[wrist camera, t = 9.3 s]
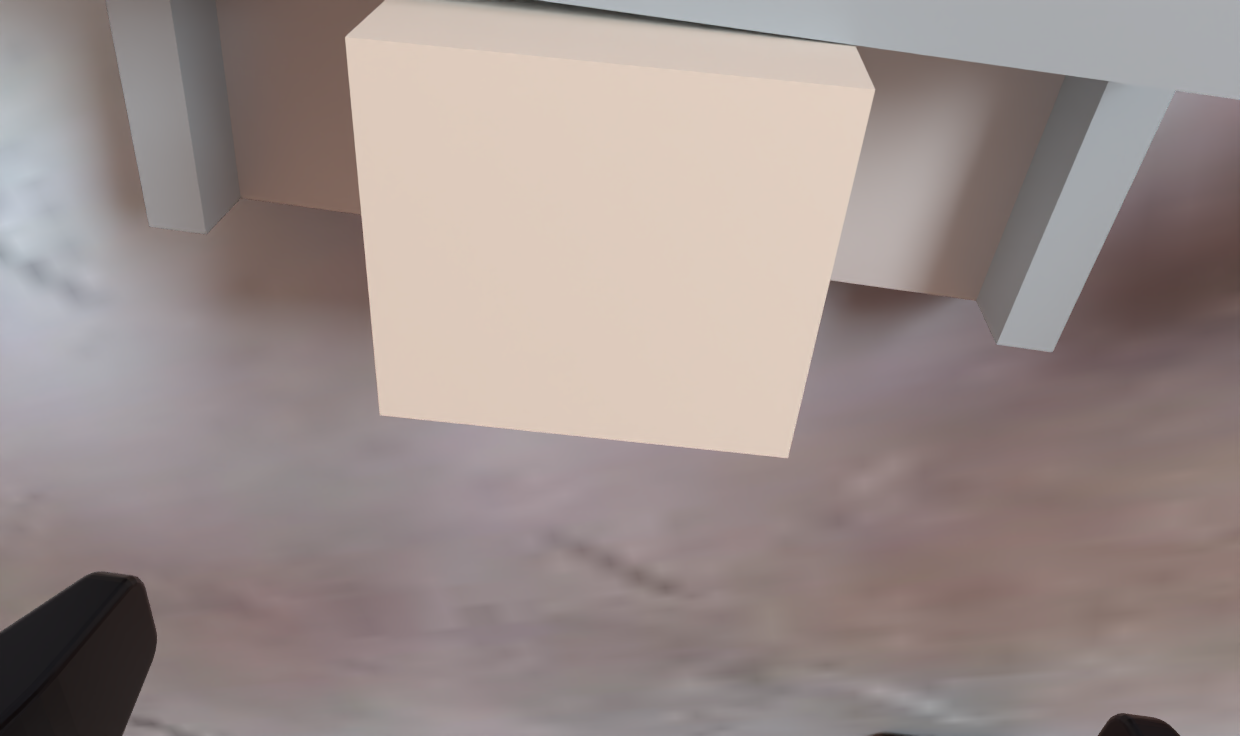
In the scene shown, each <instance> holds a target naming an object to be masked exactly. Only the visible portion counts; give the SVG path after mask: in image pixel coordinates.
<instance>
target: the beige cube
mask: <svg viewBox="0 0 1240 736" xmlns="http://www.w3.org/2000/svg"><path fill="white" fill-rule="evenodd" d="M345 43H346V54H347V65H348V76H349V86H350V97H351V108H352V119H353V130H354V141H355V151H356V162H357V173H358V184H359V195H360V206H361V216H362V227H363V238H364V249H365V260H366V271H367V281H368V292H369V303H370V314H371V325H372V336H373V346H374V357H375V368H376V379H377V390H378V401H379V411H380V415H382V416H392V417H401V418H411V419H420V420H430V421H439V422H449V423H458V424H468V425H477V426H487V427H496V428H506V429H516V430H525V431H535V432H544V433H554V434H563V435H573V436H582V437H592V438H601V439H611V440H620V441H630V442H639V443H649V444H658V445H668V446H678V447H687V448H697V449H706V450H716V451H725V452H735V453H744V454H754V455H763V456H773V457H782V458H788V455H789V451H790V447H791V443H792V439H793V434H794V430H795V426H796V422H797V418H798V413H799V409H800V405H801V401H802V396H803V392H804V388H805V384H806V380H807V375H808V371H809V367H810V363H811V359H812V354H813V350H814V346H815V342H816V338H817V333H818V329H819V325H820V321H821V316H822V312H823V308H824V304H825V300H826V295H827V291H828V287H829V283H830V279H831V274H832V270H833V266H834V262H835V257H836V253H837V249H838V245H839V241H840V236H841V232H842V228H843V224H844V220H845V215H846V211H847V207H848V203H849V198H850V194H851V190H852V186H853V182H854V177H855V173H856V169H857V165H858V161H859V156H860V152H861V148H862V144H863V139H864V135H865V131H866V127H867V123H868V118H869V114H870V110H871V106H872V102H873V97H874V93H875V88H874V86H873V83H872V81H871V79H870V77H869V75H868V72H867V70H866V68H865V66H864V64H863V61H862V59H861V57H860V55H859V53H858V50H857V48H856V46H855V45H850V44H843V43H836V42H829V41H822V40H815V39H808V38H801V37H794V36H787V35H780V34H773V33H766V32H759V31H752V30H745V29H738V28H731V27H724V26H716V25H709V24H702V23H695V22H688V21H681V20H674V19H667V18H660V17H653V16H646V15H639V14H632V13H625V12H618V11H611V10H604V9H597V8H590V7H583V6H576V5H569V4H562V3H555V2H548V1H540V0H385V1H384V2H383V3H381V4H380V5H379V6H378V7H377V8H376V9H375V10H374V11H373V12H372V13H371V14H369V15H368V16H367V17H366V18H365V19H364V20H363V21H362V22H361V23H360V24H359V25H357V26H356V27H355V28H354V29H353V30H352V31H351V32H350V33H349V34H348V35H347V36H346V37H345Z"/></svg>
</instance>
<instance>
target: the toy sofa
mask: <svg viewBox="0 0 1240 736" xmlns="http://www.w3.org/2000/svg"><path fill="white" fill-rule="evenodd" d="M105 1H106V6H107V11H108V16H109V22H110V27H111V32H112V37H113V42H114V47H115V53H116V58H117V63H118V68H119V73H120V78H121V84H122V89H123V94H124V99H125V104H126V109H127V114H128V120H129V125H130V130H131V135H132V140H133V145H134V151H135V156H136V161H137V166H138V171H139V176H140V182H141V187H142V192H143V197H144V202H145V207H146V213H147V218H148V223H149V227H155V228H162V229H169V230H177V231H184V232H191V233H198V234H205V235H206V234H207V233H208V232H209V231H210V230H211V229H212V228H213V227H214V226H215V225H216V224H217V223H218V222H219V221H220V219H221V218H222V217H223V216H224V215H225V214H226V213H227V212H228V211H229V210H230V209H231V208H232V207H233V206H234V205H235V204H236V202H237V201H238V200H239V199H240V198H244V199H251V200H258V201H265V202H273V203H280V204H287V205H294V206H301V207H308V208H316V209H323V210H330V211H337V212H344V213H351V214H359V215H361V206H360V195H359V184H358V173H357V162H356V151H355V141H354V130H353V119H352V108H351V97H350V86H349V76H348V65H347V54H346V43H345V37H346V36H347V35H348V34H349V33H350V32H351V31H352V30H353V29H354V28H355V27H356V26H357V25H359V24H360V23H361V22H362V21H363V20H364V19H365V18H366V17H367V16H368V15H369V14H371V13H372V12H373V11H374V10H375V9H376V8H377V7H378V6H379V5H380V4H381V3H383V2H384V1H385V0H105ZM540 1H548V2H555V3H562V4H569V5H576V6H583V7H590V8H597V9H604V10H611V11H618V12H625V13H632V14H639V15H646V16H653V17H660V18H667V19H674V20H681V21H688V22H695V23H702V24H709V25H716V26H724V27H731V28H738V29H745V30H752V31H759V32H766V33H773V34H780V35H787V36H794V37H801V38H808V39H815V40H822V41H829V42H836V43H843V44H850V45H855V46H856V48H857V50H858V53H859V55H860V57H861V59H862V61H863V64H864V66H865V68H866V70H867V72H868V75H869V77H870V79H871V81H872V83H873V86H874V88H875V93H874V97H873V102H872V106H871V110H870V114H869V118H868V123H867V127H866V131H865V135H864V139H863V144H862V148H861V152H860V156H859V161H858V165H857V169H856V173H855V177H854V182H853V186H852V190H851V194H850V198H849V203H848V207H847V211H846V215H845V220H844V224H843V228H842V232H841V236H840V241H839V245H838V249H837V253H836V257H835V262H834V266H833V270H832V274H831V279H830V280H832V281H839V282H846V283H853V284H860V285H867V286H875V287H882V288H889V289H896V290H903V291H910V292H918V293H925V294H932V295H939V296H946V297H953V298H961V299H968V300H975V301H977V303H978V306H979V308H980V310H981V312H982V314H983V316H984V319H985V321H986V323H987V325H988V327H989V329H990V332H991V334H992V336H993V338H994V340H995V342H996V344H997V345H1003V346H1011V347H1018V348H1025V349H1032V350H1039V351H1047V352H1053V350H1054V348H1055V346H1056V344H1057V342H1058V340H1059V337H1060V335H1061V333H1062V331H1063V329H1064V327H1065V325H1066V323H1067V320H1068V318H1069V316H1070V314H1071V312H1072V310H1073V308H1074V306H1075V303H1076V301H1077V299H1078V297H1079V295H1080V293H1081V291H1082V289H1083V286H1084V284H1085V282H1086V280H1087V278H1088V276H1089V274H1090V272H1091V269H1092V267H1093V265H1094V263H1095V261H1096V259H1097V257H1098V255H1099V252H1100V250H1101V248H1102V246H1103V244H1104V242H1105V240H1106V238H1107V235H1108V233H1109V231H1110V229H1111V227H1112V225H1113V223H1114V221H1115V218H1116V216H1117V214H1118V212H1119V210H1120V208H1121V206H1122V204H1123V201H1124V199H1125V197H1126V195H1127V193H1128V191H1129V189H1130V187H1131V184H1132V182H1133V180H1134V178H1135V176H1136V174H1137V172H1138V170H1139V167H1140V165H1141V163H1142V161H1143V159H1144V157H1145V155H1146V153H1147V150H1148V148H1149V146H1150V144H1151V142H1152V140H1153V138H1154V136H1155V133H1156V131H1157V129H1158V127H1159V125H1160V123H1161V121H1162V119H1163V116H1164V114H1165V112H1166V110H1167V108H1168V106H1169V104H1170V101H1171V99H1172V97H1173V95H1174V93H1175V91H1181V92H1188V93H1195V94H1202V95H1209V96H1216V97H1223V98H1230V99H1238V100H1240V0H540Z"/></svg>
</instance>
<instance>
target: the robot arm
mask: <svg viewBox="0 0 1240 736" xmlns="http://www.w3.org/2000/svg"><path fill="white" fill-rule="evenodd" d="M156 644H157V633H156V628H155V624H154V620H153V616H152V612H151V608H150V604H149V600H148V596H147V592H146V588H145V586H144V583H143V582H142V581H141V580H140V579H139V578H138V577H136V576H132V575H125V574H118V573H111V572H94V573H91V574H89V575H86V576H84V577H83V578H81V579H80V580H78V581H77V582H75V583H74V584H72V585H71V586H69V587H68V588H66V589H65V590H63V591H61V592H60V593H58V594H57V595H55V596H54V597H52V598H51V599H49V600H48V601H46V602H45V603H43V604H42V605H40V606H39V607H37V608H36V609H34V610H33V611H31V612H30V613H28V614H27V615H25V616H24V617H22V618H21V619H19V620H18V621H16V622H15V623H13V624H12V625H10V626H9V627H7V628H6V629H4V630H3V631H1V632H0V736H122V735H123V733H124V730H125V728H126V725H127V723H128V720H129V718H130V715H131V713H132V711H133V708H134V706H135V703H136V701H137V698H138V696H139V693H140V691H141V688H142V686H143V683H144V681H145V678H146V676H147V673H148V671H149V668H150V666H151V663H152V661H153V658H154V654H155V651H156ZM1098 736H1180V735H1179V734H1178V733H1177V732H1176V731H1175V730H1174V729H1173V728H1172V727H1171V726H1170V725H1169V724H1167V723H1166V722H1164V721H1162V720H1160V719H1157V718H1154V717H1147V716H1139V715H1132V714H1125V713H1120V714H1117V715H1114V716H1113V717H1111V718H1110V719H1109V720H1108V722H1107V723H1106V724H1105V726H1104V727H1103V729H1102V730H1101V732H1100V733H1099V735H1098Z"/></svg>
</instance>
